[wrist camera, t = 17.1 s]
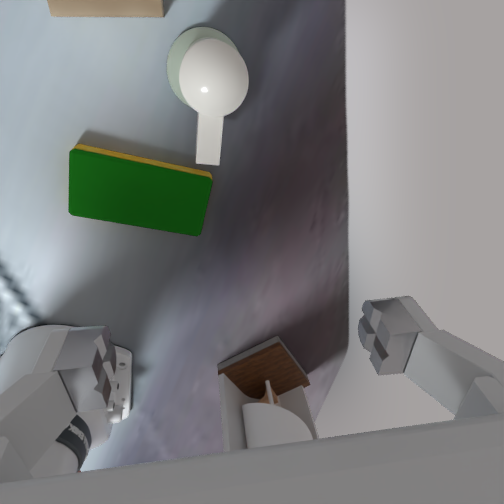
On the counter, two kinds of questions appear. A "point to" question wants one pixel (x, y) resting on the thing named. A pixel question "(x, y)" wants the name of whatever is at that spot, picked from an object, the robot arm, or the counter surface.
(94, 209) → the dish sponge
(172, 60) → the trivet
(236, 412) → the spiral staircase model
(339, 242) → the counter surface
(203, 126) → the jug
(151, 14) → the square wooden frame
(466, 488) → the robot arm
